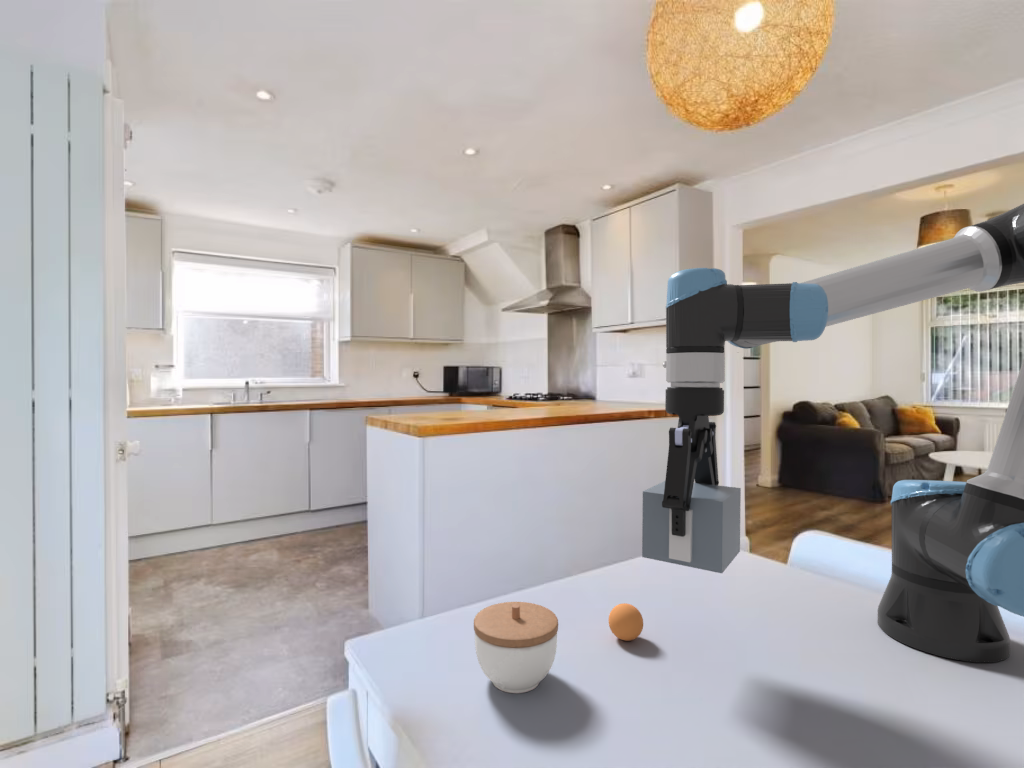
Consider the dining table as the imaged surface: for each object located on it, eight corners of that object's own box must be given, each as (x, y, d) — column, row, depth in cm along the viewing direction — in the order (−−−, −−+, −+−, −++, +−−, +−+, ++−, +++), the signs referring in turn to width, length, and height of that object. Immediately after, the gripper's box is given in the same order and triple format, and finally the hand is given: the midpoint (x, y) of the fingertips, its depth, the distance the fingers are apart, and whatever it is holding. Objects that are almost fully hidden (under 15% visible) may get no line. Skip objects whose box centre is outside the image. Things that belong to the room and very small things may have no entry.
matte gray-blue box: (740, 551, 73) (740, 488, 73) (722, 573, 65) (722, 502, 65) (667, 538, 79) (667, 479, 79) (642, 557, 71) (642, 491, 71)
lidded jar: (561, 705, 62) (561, 626, 62) (469, 705, 62) (469, 625, 62) (555, 657, 73) (555, 589, 72) (477, 656, 73) (477, 588, 73)
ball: (610, 606, 82) (628, 638, 80) (596, 618, 77) (616, 651, 76) (635, 593, 79) (654, 624, 78) (622, 604, 75) (643, 638, 74)
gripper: (690, 384, 83) (689, 525, 83) (636, 385, 64) (634, 566, 65) (741, 385, 79) (740, 533, 79) (699, 386, 60) (697, 580, 60)
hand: (692, 548), depth 72 cm, fingers closed on matte gray-blue box, 10 cm apart
